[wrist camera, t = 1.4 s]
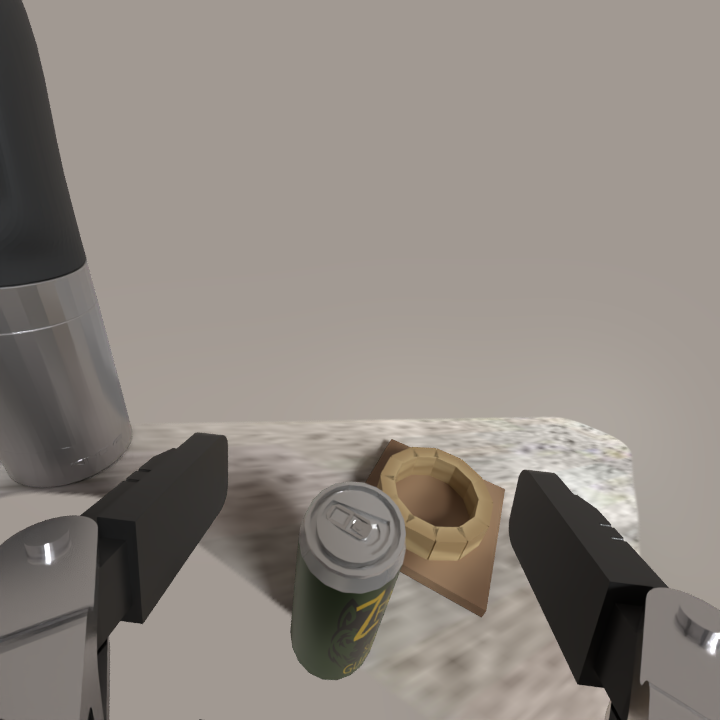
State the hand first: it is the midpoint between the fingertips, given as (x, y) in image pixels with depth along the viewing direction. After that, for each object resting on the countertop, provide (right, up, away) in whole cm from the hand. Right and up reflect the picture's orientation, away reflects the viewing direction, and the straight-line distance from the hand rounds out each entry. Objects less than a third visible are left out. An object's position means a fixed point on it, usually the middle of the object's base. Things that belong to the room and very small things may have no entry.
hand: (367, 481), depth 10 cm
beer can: (-2, -15, +14) cm, 20 cm away
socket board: (+6, -11, +22) cm, 25 cm away
